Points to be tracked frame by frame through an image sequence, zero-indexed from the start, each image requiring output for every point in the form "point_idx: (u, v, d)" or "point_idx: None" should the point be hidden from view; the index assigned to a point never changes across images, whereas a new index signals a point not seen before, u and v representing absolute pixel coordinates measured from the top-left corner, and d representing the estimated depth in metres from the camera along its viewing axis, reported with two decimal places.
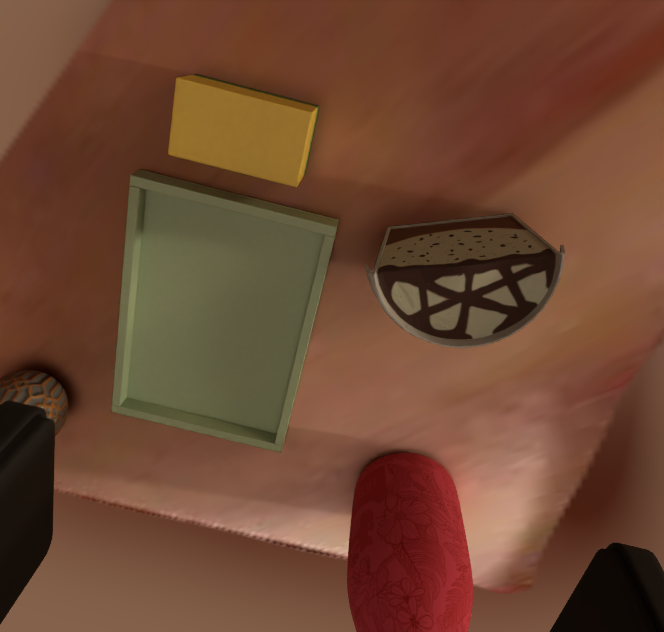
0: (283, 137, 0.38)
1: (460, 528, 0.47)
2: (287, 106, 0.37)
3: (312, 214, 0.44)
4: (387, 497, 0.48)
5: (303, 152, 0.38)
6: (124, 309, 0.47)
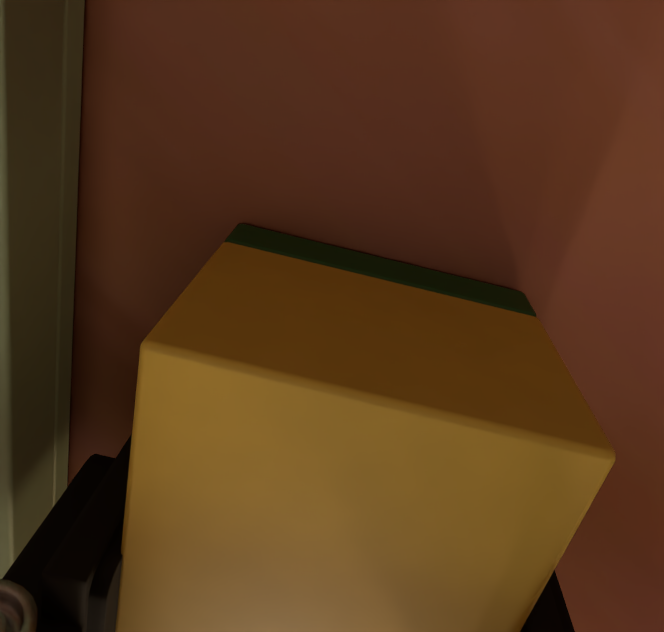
0: None
1: None
2: None
3: None
4: None
5: None
6: None
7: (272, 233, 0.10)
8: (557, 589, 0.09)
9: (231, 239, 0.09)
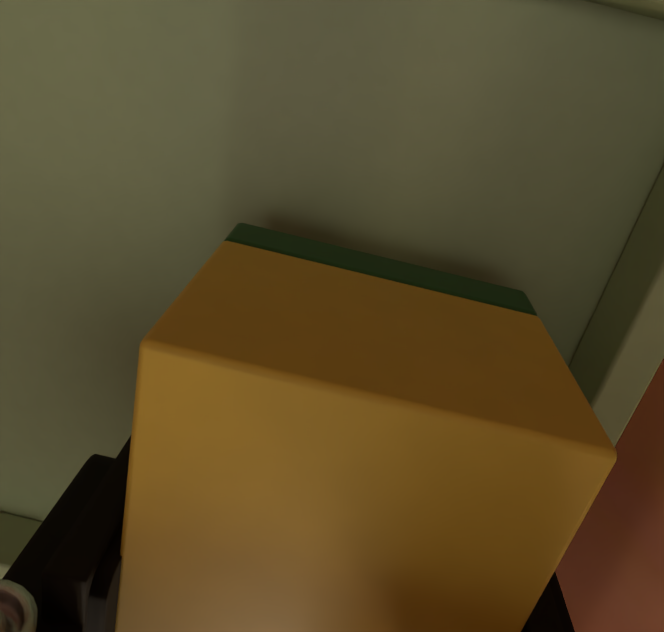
0: None
1: None
2: None
3: None
4: None
5: None
6: None
7: (272, 232, 0.10)
8: (557, 589, 0.09)
9: (232, 238, 0.09)
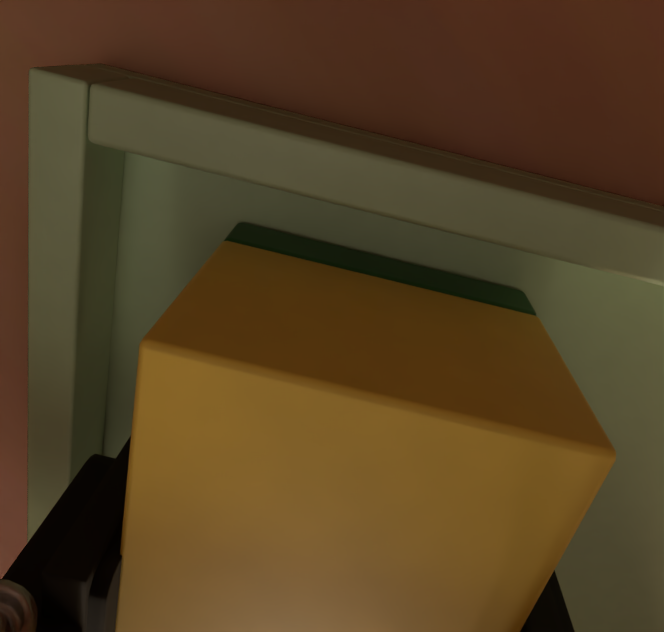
0: None
1: None
2: None
3: None
4: None
5: None
6: None
7: (271, 232, 0.10)
8: (557, 589, 0.09)
9: (231, 238, 0.09)
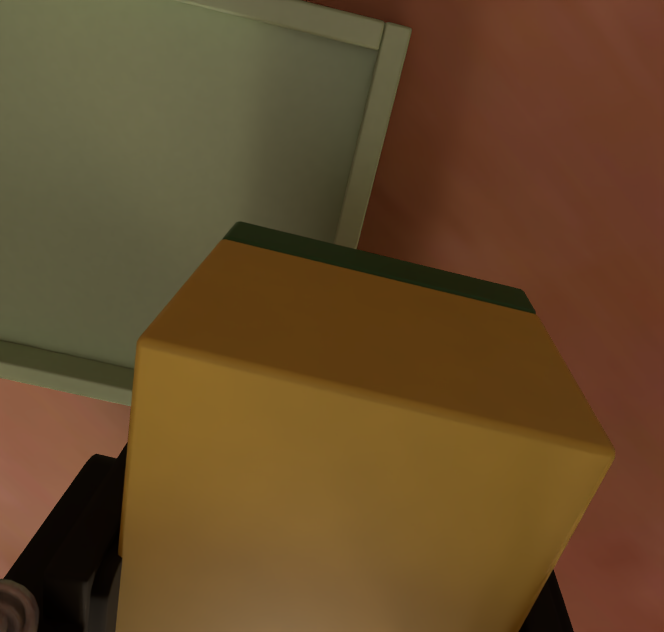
0: None
1: None
2: None
3: None
4: None
5: None
6: None
7: (270, 231, 0.09)
8: (557, 589, 0.09)
9: (229, 236, 0.09)
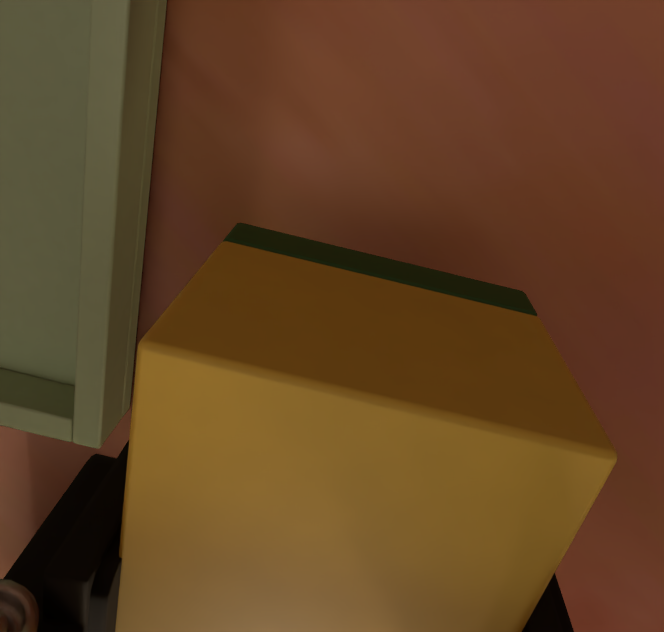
0: None
1: None
2: None
3: (129, 358, 0.17)
4: None
5: None
6: None
7: (271, 232, 0.09)
8: (557, 589, 0.09)
9: (230, 238, 0.09)
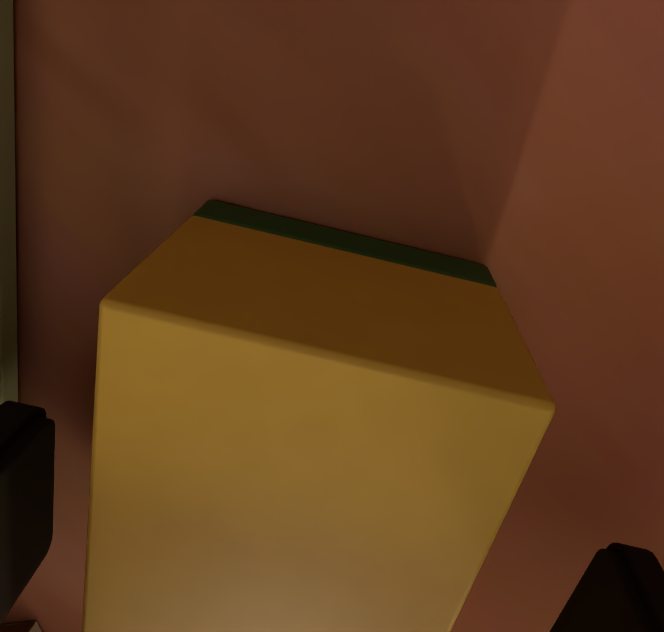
0: None
1: None
2: None
3: None
4: None
5: None
6: None
7: (241, 209, 0.10)
8: None
9: (199, 213, 0.09)
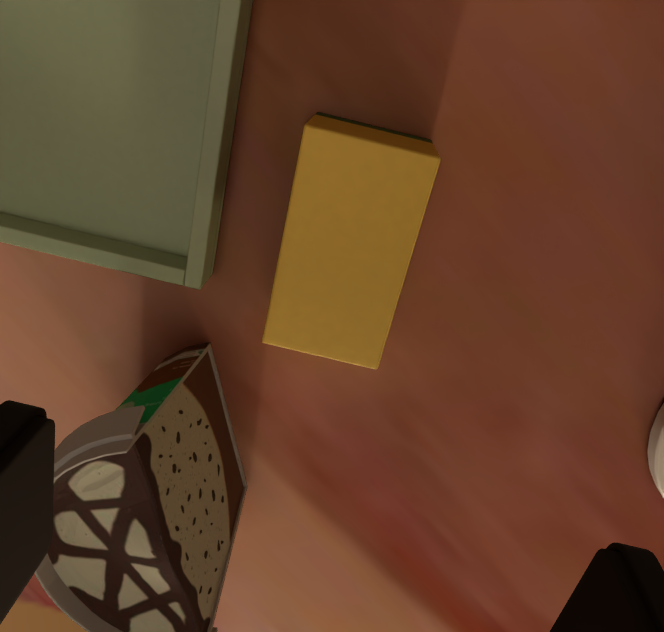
0: (340, 328, 0.24)
1: None
2: None
3: (216, 236, 0.27)
4: None
5: (317, 354, 0.24)
6: None
7: (331, 115, 0.24)
8: None
9: (317, 114, 0.24)
